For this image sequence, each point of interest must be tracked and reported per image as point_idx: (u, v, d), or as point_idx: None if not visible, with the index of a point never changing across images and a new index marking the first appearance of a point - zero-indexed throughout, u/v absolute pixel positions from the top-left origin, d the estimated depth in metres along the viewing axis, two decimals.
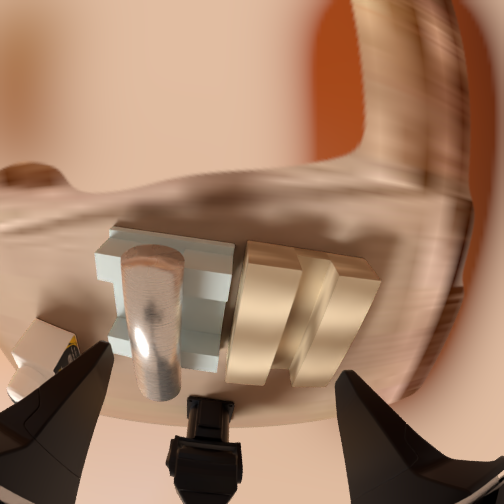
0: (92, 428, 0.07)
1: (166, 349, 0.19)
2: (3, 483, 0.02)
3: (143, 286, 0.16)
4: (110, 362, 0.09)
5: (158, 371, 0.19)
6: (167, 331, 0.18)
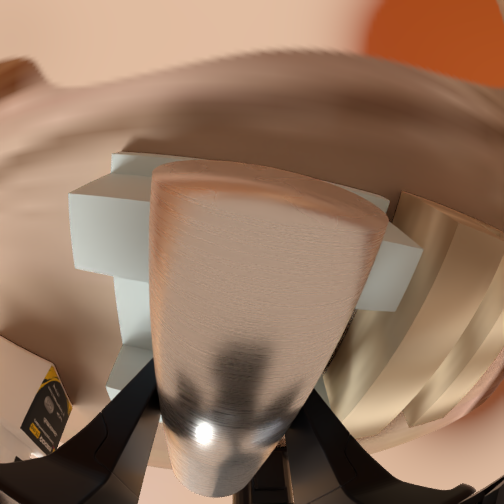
0: (151, 445, 0.07)
1: (274, 442, 0.06)
2: None
3: (284, 280, 0.03)
4: None
5: (237, 475, 0.07)
6: (295, 412, 0.06)
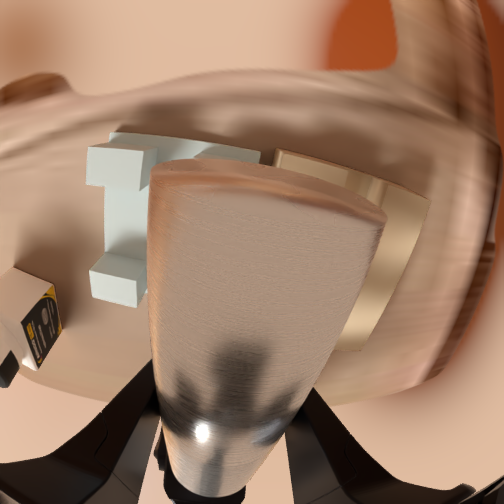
0: (151, 445, 0.07)
1: (273, 442, 0.06)
2: None
3: (282, 277, 0.03)
4: None
5: (236, 475, 0.07)
6: (293, 412, 0.06)
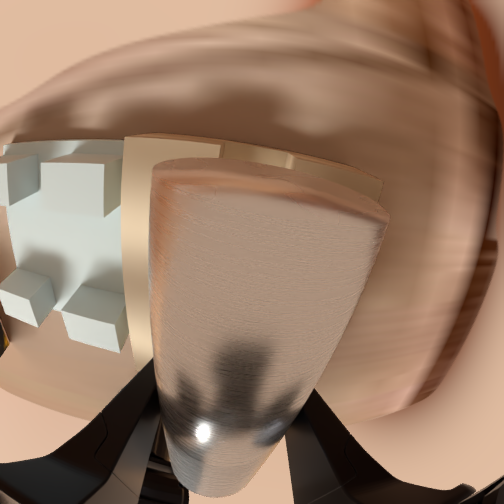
0: (151, 445, 0.07)
1: (275, 442, 0.06)
2: None
3: (286, 276, 0.03)
4: None
5: (237, 475, 0.07)
6: (295, 411, 0.06)
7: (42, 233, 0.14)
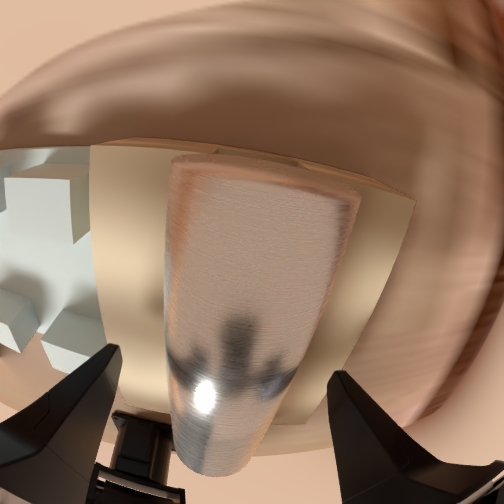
0: (101, 431, 0.07)
1: (273, 407, 0.08)
2: (14, 491, 0.02)
3: (277, 237, 0.04)
4: (119, 364, 0.09)
5: (238, 446, 0.08)
6: (290, 372, 0.07)
7: (18, 252, 0.12)
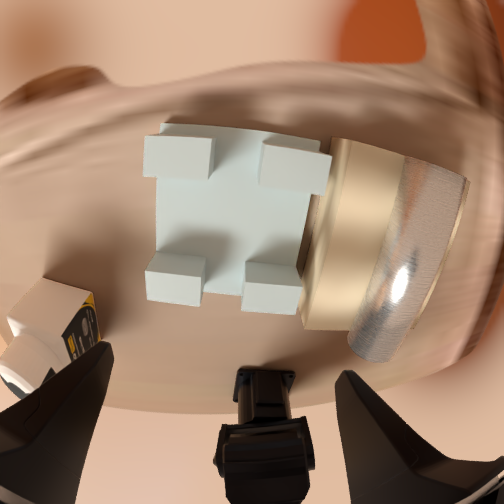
0: (92, 428, 0.07)
1: None
2: (3, 483, 0.02)
3: (457, 186, 0.12)
4: (110, 362, 0.09)
5: (416, 310, 0.15)
6: None
7: (208, 213, 0.19)
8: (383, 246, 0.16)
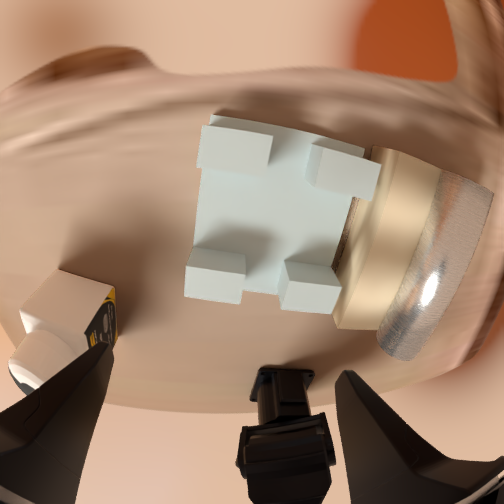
0: (92, 428, 0.07)
1: None
2: (3, 483, 0.02)
3: (487, 201, 0.12)
4: (110, 362, 0.09)
5: (444, 311, 0.16)
6: (472, 256, 0.14)
7: (253, 210, 0.19)
8: (418, 251, 0.16)
